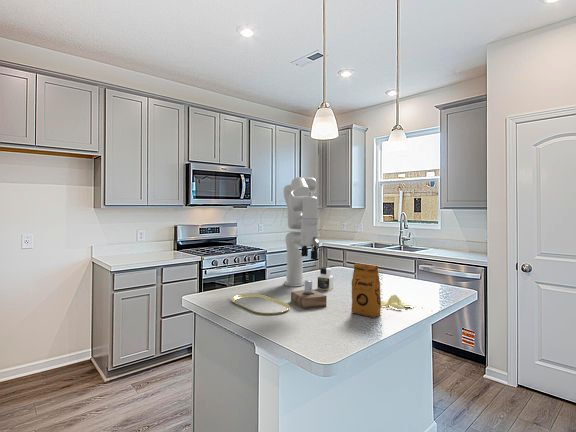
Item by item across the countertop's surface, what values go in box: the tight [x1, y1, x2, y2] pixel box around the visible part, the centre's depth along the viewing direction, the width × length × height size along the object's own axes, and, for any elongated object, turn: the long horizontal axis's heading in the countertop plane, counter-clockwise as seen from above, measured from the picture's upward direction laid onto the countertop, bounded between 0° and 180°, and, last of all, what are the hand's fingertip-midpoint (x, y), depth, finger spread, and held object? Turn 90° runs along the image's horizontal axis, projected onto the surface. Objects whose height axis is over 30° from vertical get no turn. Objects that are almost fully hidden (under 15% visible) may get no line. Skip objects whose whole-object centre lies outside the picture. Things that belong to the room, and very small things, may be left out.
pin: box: [304, 279, 313, 295], centre depth 167 cm, size 4×4×10 cm
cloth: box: [381, 294, 412, 309], centre depth 164 cm, size 22×19×6 cm
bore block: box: [290, 288, 327, 310], centre depth 167 cm, size 14×12×5 cm
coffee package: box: [351, 263, 382, 318], centre depth 152 cm, size 10×12×22 cm
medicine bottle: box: [317, 266, 334, 291], centre depth 199 cm, size 7×7×12 cm
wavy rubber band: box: [231, 293, 291, 316], centre depth 165 cm, size 19×35×2 cm, turn 38°
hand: (309, 257), depth 168 cm, fingers open, 9 cm apart
